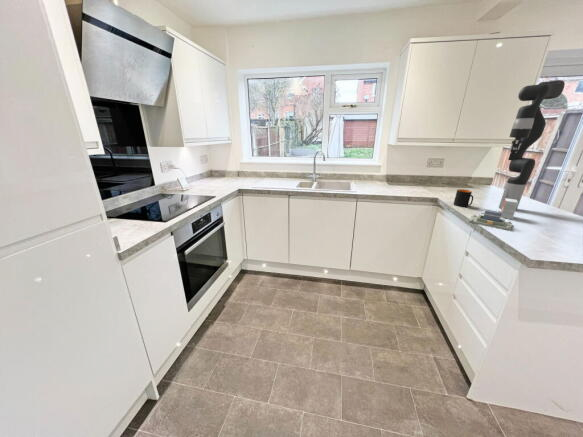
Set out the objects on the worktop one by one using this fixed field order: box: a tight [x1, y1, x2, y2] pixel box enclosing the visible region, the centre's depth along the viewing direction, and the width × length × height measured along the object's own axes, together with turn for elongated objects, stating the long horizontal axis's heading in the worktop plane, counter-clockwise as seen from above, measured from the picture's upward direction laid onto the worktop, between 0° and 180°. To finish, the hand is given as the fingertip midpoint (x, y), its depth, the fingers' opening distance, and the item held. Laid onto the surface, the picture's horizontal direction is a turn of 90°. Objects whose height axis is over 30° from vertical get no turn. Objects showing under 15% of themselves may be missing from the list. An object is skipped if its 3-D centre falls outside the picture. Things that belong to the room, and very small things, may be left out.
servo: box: [480, 208, 505, 222], centre depth 128 cm, size 4×10×7 cm, turn 46°
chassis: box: [468, 214, 513, 231], centre depth 130 cm, size 12×18×3 cm, turn 47°
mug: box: [453, 189, 474, 208], centre depth 159 cm, size 8×12×10 cm
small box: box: [500, 198, 519, 220], centre depth 139 cm, size 8×6×10 cm
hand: (511, 159), depth 127 cm, fingers open, 8 cm apart
